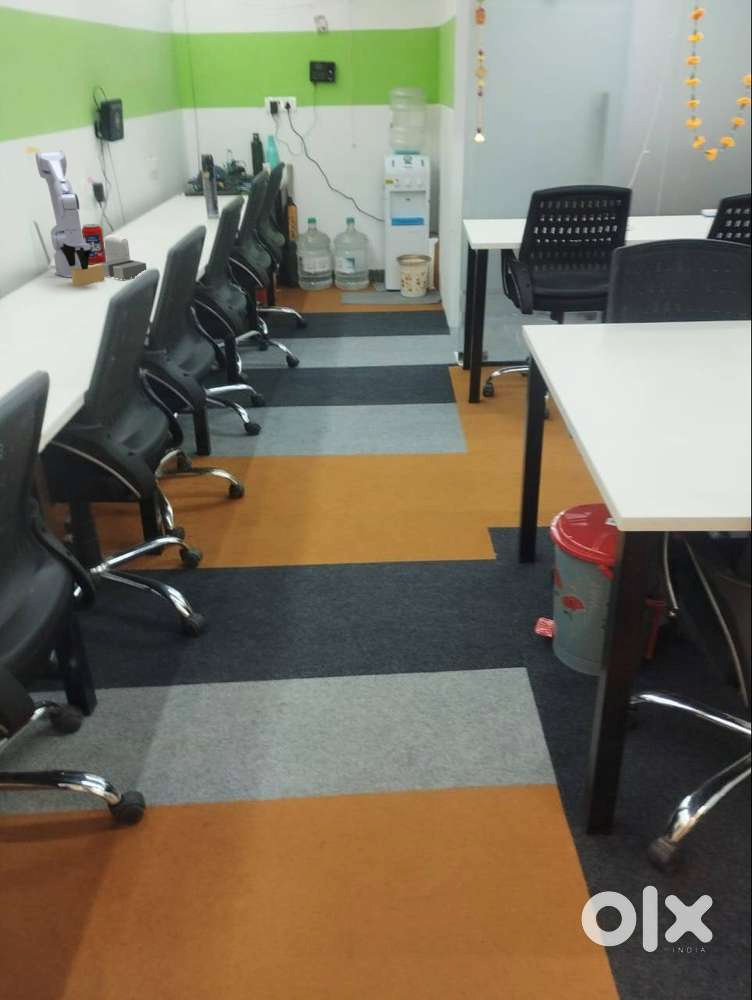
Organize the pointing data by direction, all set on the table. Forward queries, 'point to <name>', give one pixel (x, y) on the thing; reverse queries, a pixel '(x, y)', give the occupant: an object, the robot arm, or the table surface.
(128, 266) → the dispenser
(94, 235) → the soda can
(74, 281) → the tan rectangular block
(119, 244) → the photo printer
